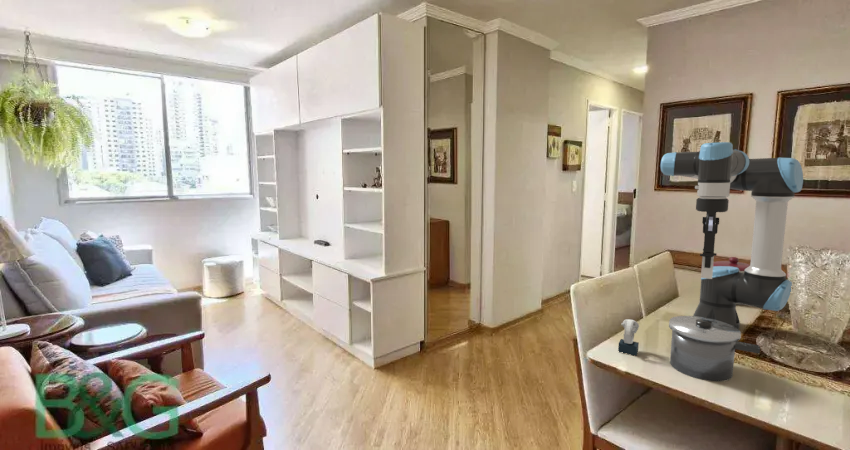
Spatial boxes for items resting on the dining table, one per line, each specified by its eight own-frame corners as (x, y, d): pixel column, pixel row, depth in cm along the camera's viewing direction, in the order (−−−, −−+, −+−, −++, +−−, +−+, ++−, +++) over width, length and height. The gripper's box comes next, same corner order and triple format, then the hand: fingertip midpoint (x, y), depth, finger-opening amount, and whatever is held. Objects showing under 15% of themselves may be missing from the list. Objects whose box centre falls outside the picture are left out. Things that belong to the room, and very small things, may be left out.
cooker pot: (672, 350, 137) (675, 316, 136) (754, 368, 125) (757, 330, 123) (667, 371, 123) (670, 333, 122) (758, 393, 111) (762, 351, 109)
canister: (723, 293, 200) (726, 252, 198) (764, 304, 184) (769, 259, 181) (697, 298, 194) (700, 254, 191) (737, 309, 177) (742, 262, 175)
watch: (638, 349, 139) (640, 318, 137) (635, 358, 132) (637, 325, 131) (621, 345, 142) (622, 315, 141) (616, 353, 135) (618, 322, 134)
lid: (671, 316, 136) (672, 307, 136) (739, 328, 126) (740, 318, 125) (666, 333, 122) (666, 324, 121) (741, 348, 111) (742, 338, 111)
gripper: (697, 195, 123) (692, 271, 126) (695, 198, 112) (690, 281, 116) (728, 196, 119) (721, 274, 122) (729, 199, 108) (722, 285, 111)
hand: (706, 277), depth 119 cm, fingers closed
